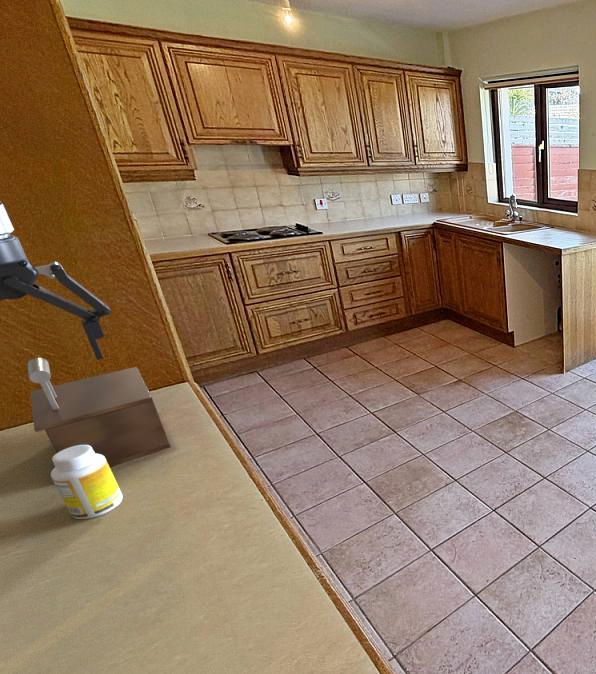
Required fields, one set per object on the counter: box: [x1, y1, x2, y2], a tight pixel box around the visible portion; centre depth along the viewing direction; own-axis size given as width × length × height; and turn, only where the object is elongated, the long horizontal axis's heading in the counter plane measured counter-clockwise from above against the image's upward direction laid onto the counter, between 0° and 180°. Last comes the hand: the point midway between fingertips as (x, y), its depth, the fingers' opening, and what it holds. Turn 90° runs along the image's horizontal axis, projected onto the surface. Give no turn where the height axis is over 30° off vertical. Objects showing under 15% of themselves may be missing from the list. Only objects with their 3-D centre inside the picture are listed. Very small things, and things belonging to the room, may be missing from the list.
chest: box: [44, 399, 172, 468], centre depth 83 cm, size 13×16×10 cm
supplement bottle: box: [50, 445, 123, 520], centre depth 70 cm, size 6×6×10 cm
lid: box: [27, 357, 154, 433], centre depth 80 cm, size 14×16×8 cm
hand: (40, 369), depth 75 cm, fingers open, 13 cm apart
